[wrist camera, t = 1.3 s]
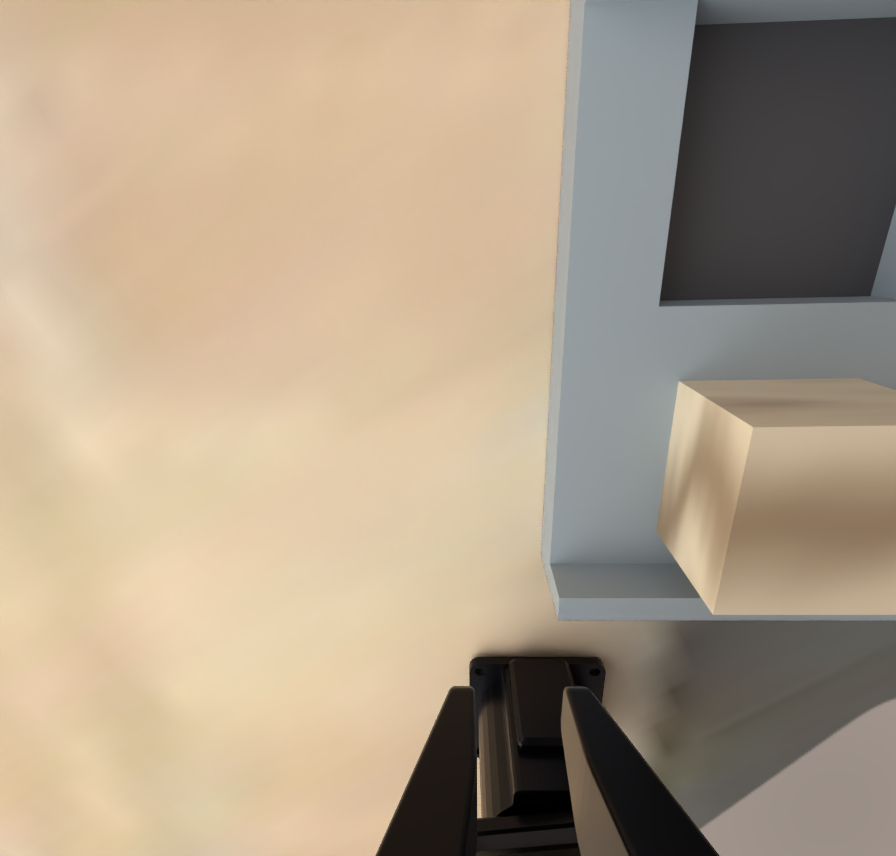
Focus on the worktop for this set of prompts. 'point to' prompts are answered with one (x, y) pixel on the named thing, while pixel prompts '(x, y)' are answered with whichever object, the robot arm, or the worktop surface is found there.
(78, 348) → the worktop surface
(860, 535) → the maple block
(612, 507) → the board
